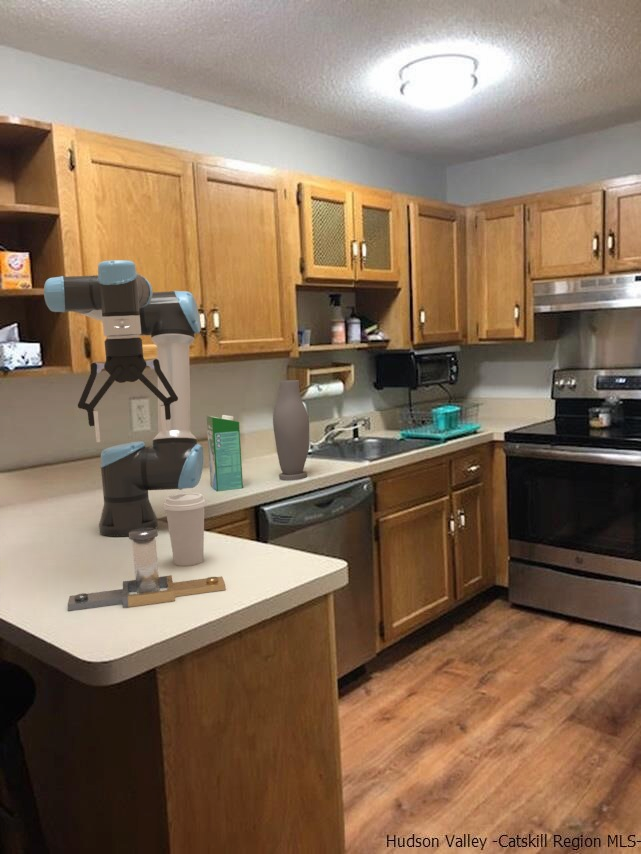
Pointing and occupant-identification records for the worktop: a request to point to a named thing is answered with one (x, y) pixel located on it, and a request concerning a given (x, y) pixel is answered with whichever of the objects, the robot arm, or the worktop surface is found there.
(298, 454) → the vase
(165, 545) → the worktop surface
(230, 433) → the milk carton
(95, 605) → the link plate steel
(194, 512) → the coffee cup
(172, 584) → the link plate bronze
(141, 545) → the pin
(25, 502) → the worktop surface
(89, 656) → the worktop surface
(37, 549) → the worktop surface
